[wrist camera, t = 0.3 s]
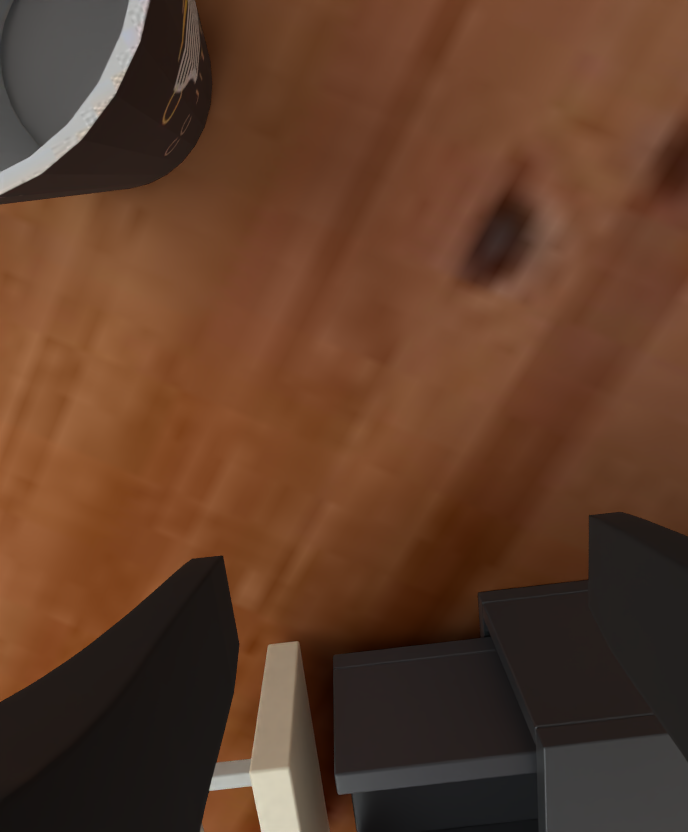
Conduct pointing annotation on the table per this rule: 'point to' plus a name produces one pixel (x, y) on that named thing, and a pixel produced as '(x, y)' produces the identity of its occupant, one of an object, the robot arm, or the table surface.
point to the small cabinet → (584, 717)
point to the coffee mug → (98, 94)
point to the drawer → (394, 743)
